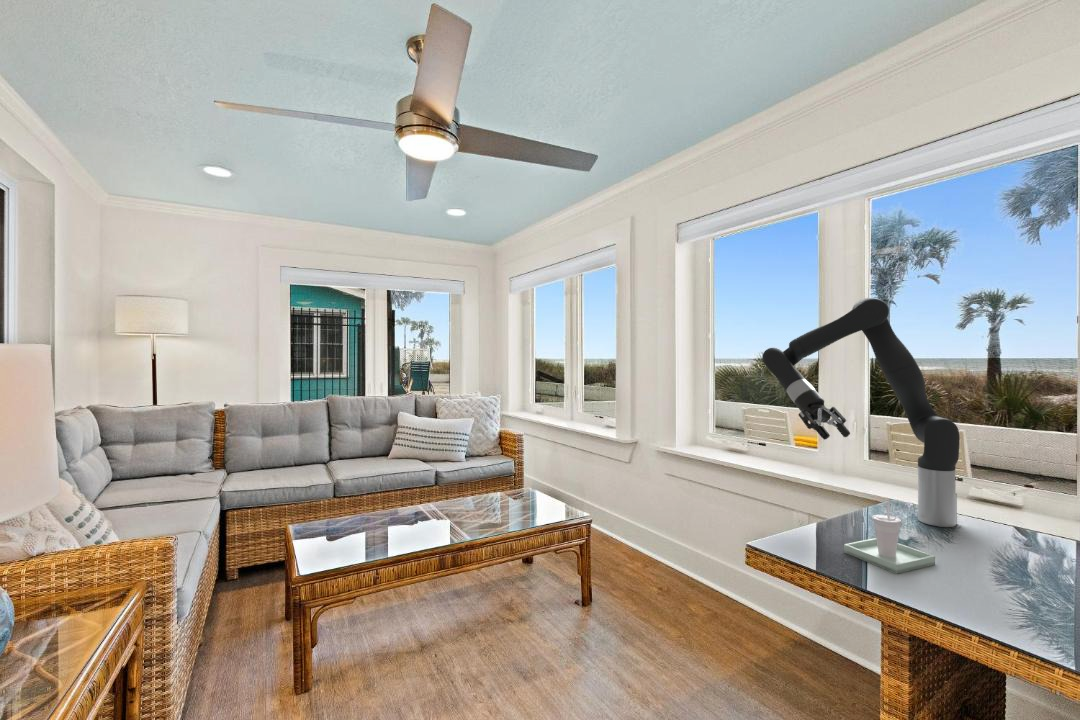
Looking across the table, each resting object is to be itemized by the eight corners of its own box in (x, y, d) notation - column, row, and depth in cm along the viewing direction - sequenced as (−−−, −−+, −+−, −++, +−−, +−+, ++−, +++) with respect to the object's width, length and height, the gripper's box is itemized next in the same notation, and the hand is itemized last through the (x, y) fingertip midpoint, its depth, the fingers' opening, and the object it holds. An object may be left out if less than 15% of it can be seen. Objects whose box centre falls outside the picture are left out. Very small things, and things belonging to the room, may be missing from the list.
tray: (880, 544, 138) (880, 536, 138) (935, 564, 125) (935, 556, 125) (844, 552, 133) (843, 544, 133) (896, 573, 120) (896, 564, 120)
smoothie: (908, 559, 126) (907, 505, 126) (883, 560, 126) (882, 505, 126) (890, 549, 132) (890, 497, 132) (866, 550, 133) (866, 498, 132)
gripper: (794, 389, 155) (828, 431, 145) (827, 387, 160) (862, 427, 150) (781, 405, 160) (812, 446, 150) (814, 402, 165) (846, 442, 155)
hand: (837, 436), depth 150 cm, fingers open, 8 cm apart
